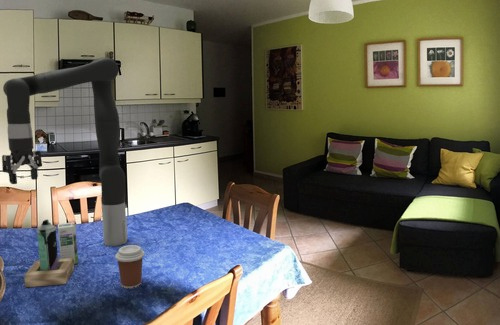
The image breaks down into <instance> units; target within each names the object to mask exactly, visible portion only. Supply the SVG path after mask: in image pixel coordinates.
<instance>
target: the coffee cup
mask: <svg viewBox="0 0 500 325" xmlns="http://www.w3.org/2000/svg"><path fill="white" fill-rule="evenodd" d="M114 257H115V260H116V261H117V264H118V272H119V273H118V274H119V278H120V280H119V281H120V286H121V287H122V288H123V287H124V289H128V288H129V289H134V288H133V287H135V288H138V287H140V286H141V285H142V283H141V282H142V281H143V280H142V277H143V275H142V274H143V258H144V257H145V251H144V250H143V249H142V247H141V246H140V245H136V244H128V245H124V246H122V247H119V249H118V252H117V253H115V256H114ZM140 284H141V285H140ZM139 285H140V286H139ZM137 286H138V287H137Z"/></svg>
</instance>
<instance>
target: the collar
mask: <svg viewBox="0 0 500 325" xmlns="http://www.w3.org/2000/svg"><path fill="white" fill-rule="evenodd" d="M58 264H59V270H48V271H41V270H40V259H38V260H35V262H34V263H33V264H32V265H31V266H30V268H29V269H28V270H27V272H26V273H25V274H24V275H23V278H24V287H25V288H31V287H32V288H33V287H44V286H46V287H47V286H56V285H66V284H67V283H68V281H69V278H70V277H71V276H72V273H73V271H74V269H75V264H74V259H73V258H63V259H60V258H58Z"/></svg>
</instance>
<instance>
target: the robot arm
mask: <svg viewBox="0 0 500 325" xmlns="http://www.w3.org/2000/svg"><path fill="white" fill-rule="evenodd" d="M119 68H120V67H119V66H118V64H117V62H116V61H115V60H114V59H112V58H111V57H110V58H109V57H103V56H102V57H98V58H95V59H93V60H92V61H91V62H89V63H86V64H84V65H79V66H76V67H75V66H74V67H69V68H62V69H57V70H56V69H55V70H54V69H53V70H50V71H45V72H40V73H36V74H33V75H31V76H24V77H17V78H12V79H11V78H10V79H9V80H7V81H6V82H4V84H3V87H2V89H3V93H4V95H5V96H6V102H7V109H6V118H7V119H6V120H7V141H8V149H9V151H10V154H3V155H2V156H1V162H2V167H1V169H2V173H7V174H8V180H9V183H10V184H11V185H17V184H18V179H17V178H18V177H17V171H18V169H20V168H21V166H25V165H27V166H28V167H29V168H30V180H38V178H39V177H38V176H39V172H38V169H39V168H40V167H42V166H43V161H42V154H41V150H33V149H34V138H33V136H34V135H33V129H32V128H33V127H32V123H31V114H30V99H31V96H34V95H38V94H48V93H51V92H56V91H60V90H64V89H67V88H70V87H71V88H72V87H74V86H78V85H81V84H82V85H83V84H85V83H86V84H87V83H91V88H92V93H93V95H92V96H93V109H94V110H93V113H94V128H95V134H96V141H97V146H98V151H99V152H98V153H99V172H98V176H99V179H100V185H101V187H100V188H101V198H100V201H101V202H100V203H101V215H102V216H101V217H102V218H101V219H102V232H103V233H102V236H103V245H105V246H108V247H116V246H121V245H124V244H125V245H126V244H127V242H128V239H129V238H128V222H127V221H128V220H127V215H126V212H127V211H126V174H125V172H124V170H123V168H122V167H121V163H120V156H119V143H120V133H121V130H120V128H121V126H120V125H121V124H120V116H119V112H118V109H117V108H118V107H117V105H116V104H115V100H114V97H113V93H112V81H113V80H114V79H116V78H117V77H118V75H119V72H120V71H119Z"/></svg>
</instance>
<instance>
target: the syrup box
mask: <svg viewBox="0 0 500 325" xmlns="http://www.w3.org/2000/svg"><path fill="white" fill-rule="evenodd" d="M57 233H58V245H59V256H60V257H59V259H63V258H73V259H74V265H76V264H77V265H78V264H79V258H78V257H79V256H78V255H79V254H78V242H77V229H76V223H75V221H72V222H66V223H58V224H57Z"/></svg>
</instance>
